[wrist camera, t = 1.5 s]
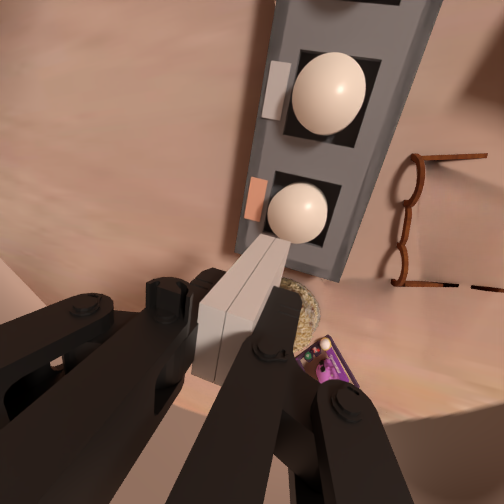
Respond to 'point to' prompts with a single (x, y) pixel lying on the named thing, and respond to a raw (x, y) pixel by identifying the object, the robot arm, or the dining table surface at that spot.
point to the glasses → (408, 216)
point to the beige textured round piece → (303, 314)
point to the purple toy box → (327, 361)
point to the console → (344, 142)
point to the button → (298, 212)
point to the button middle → (328, 93)
